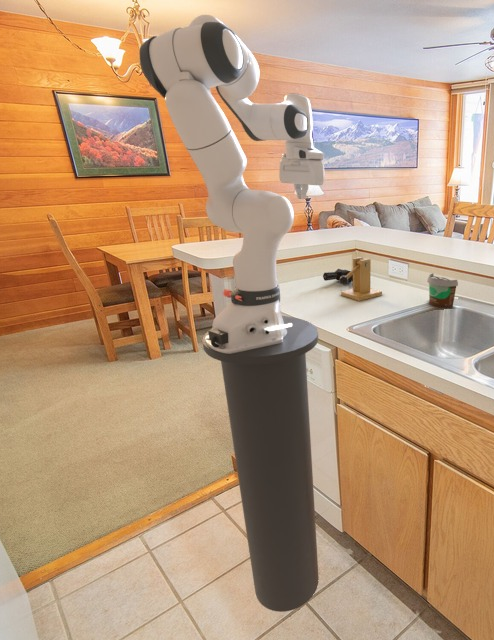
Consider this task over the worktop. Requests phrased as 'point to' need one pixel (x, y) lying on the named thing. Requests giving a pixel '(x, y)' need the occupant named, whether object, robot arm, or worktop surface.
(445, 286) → the food container
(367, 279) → the lever stand
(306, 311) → the worktop surface
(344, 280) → the latch lever
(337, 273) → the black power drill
